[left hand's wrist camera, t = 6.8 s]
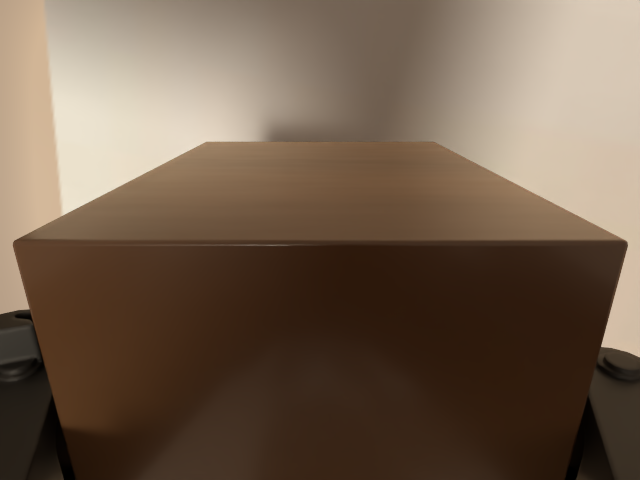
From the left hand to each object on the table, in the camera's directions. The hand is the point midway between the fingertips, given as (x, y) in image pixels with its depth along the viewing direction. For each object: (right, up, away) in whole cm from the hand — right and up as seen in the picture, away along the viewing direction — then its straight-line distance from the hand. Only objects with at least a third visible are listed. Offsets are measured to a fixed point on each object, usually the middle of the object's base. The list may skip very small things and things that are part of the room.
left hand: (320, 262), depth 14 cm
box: (0, -7, +3) cm, 8 cm away
